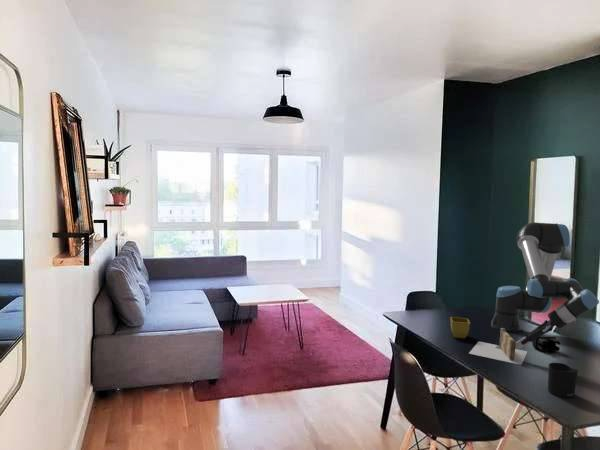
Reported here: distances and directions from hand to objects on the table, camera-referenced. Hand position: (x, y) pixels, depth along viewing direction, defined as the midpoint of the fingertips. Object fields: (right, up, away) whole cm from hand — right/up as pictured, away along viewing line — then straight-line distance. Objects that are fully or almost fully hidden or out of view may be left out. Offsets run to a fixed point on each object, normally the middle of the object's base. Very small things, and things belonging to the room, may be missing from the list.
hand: (515, 346), depth 210 cm
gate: (-2, -4, +6) cm, 8 cm away
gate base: (-5, -5, +8) cm, 10 cm away
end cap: (+21, -6, +14) cm, 26 cm away
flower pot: (-15, -3, +30) cm, 34 cm away
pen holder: (+1, -9, -35) cm, 36 cm away
